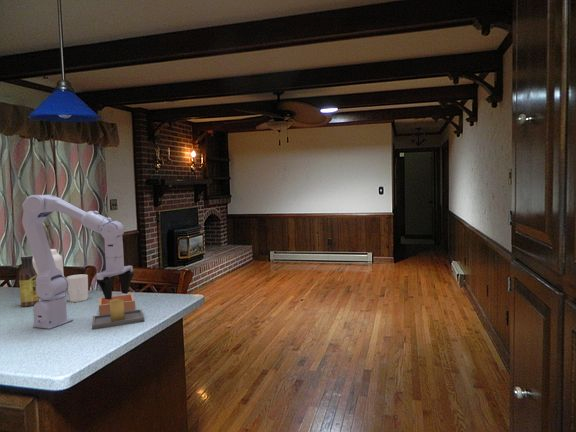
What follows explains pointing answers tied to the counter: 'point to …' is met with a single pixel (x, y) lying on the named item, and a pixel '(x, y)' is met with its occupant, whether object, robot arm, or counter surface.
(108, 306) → the orange open box
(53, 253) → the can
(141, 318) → the tray
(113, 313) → the cylinder
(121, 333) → the counter surface
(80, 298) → the white cup
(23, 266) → the sauce bottle
